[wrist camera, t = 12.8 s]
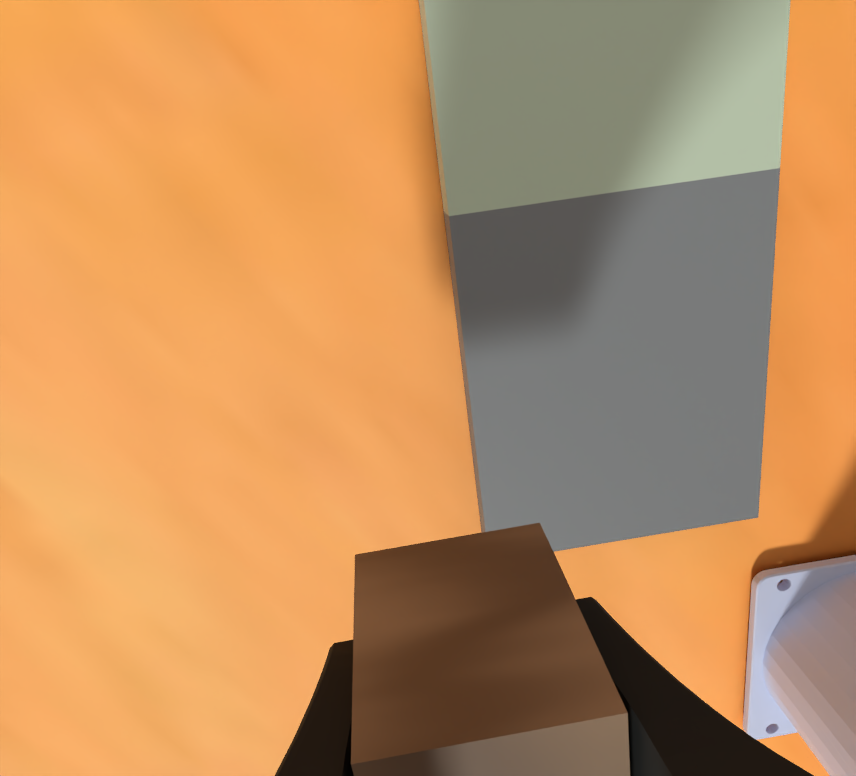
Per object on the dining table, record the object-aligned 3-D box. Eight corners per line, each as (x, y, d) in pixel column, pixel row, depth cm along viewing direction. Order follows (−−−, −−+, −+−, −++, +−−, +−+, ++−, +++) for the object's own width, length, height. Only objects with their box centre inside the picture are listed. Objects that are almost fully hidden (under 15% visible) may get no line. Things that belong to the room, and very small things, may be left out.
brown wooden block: (539, 522, 14) (627, 712, 9) (553, 665, 15) (634, 891, 11) (355, 554, 14) (350, 764, 9) (386, 696, 15) (395, 939, 11)
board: (780, -347, 15) (814, -388, 14) (738, 498, 23) (757, 517, 21) (383, -301, 14) (384, -339, 13) (482, 541, 22) (489, 562, 21)
